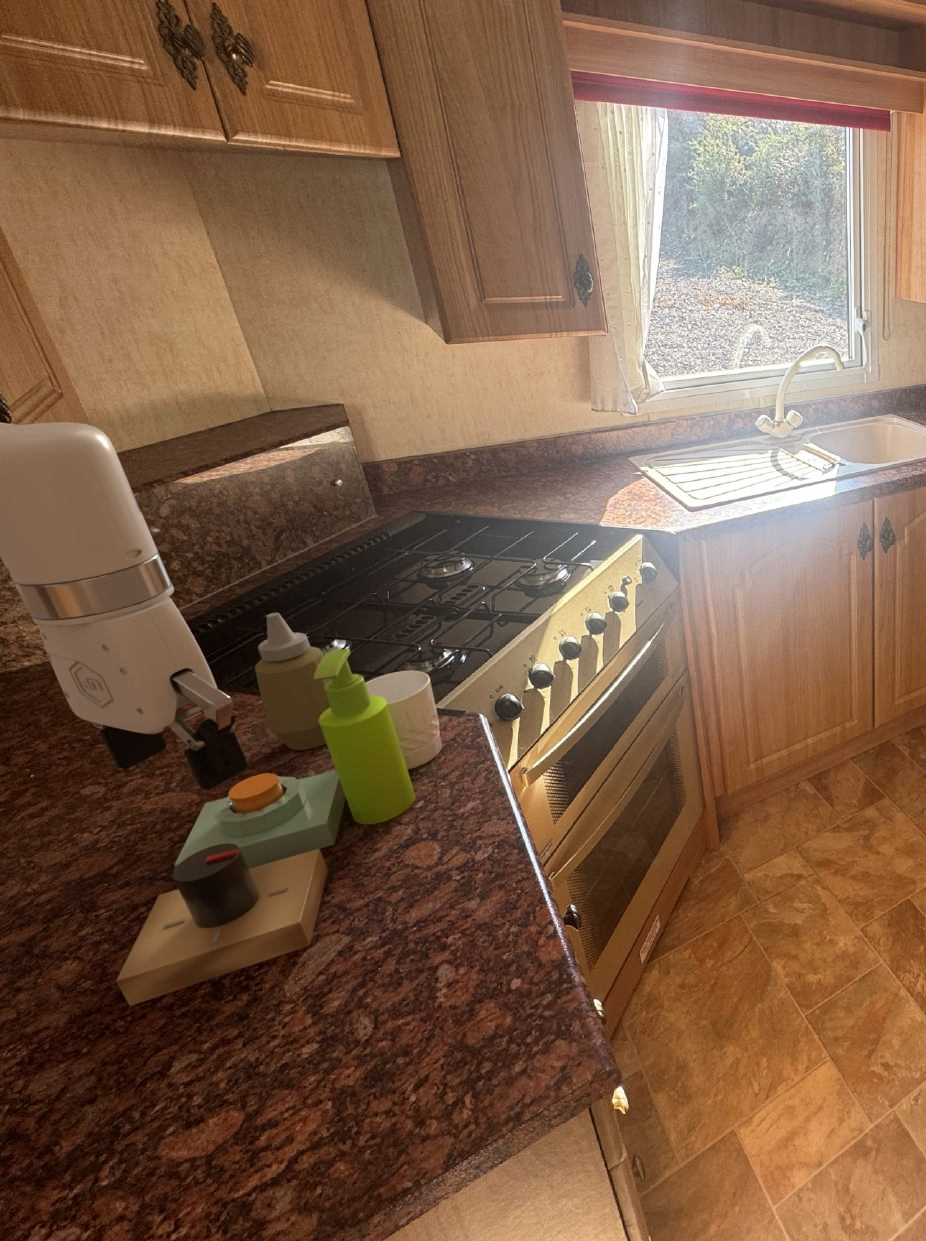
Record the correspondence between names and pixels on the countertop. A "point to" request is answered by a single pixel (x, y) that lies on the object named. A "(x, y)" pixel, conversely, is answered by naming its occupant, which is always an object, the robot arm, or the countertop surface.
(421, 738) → the white cup
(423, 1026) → the countertop surface
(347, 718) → the soap dispenser
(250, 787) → the orange arcade button
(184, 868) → the dial
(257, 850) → the green button base
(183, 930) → the dial panel
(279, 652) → the squeeze bottle
